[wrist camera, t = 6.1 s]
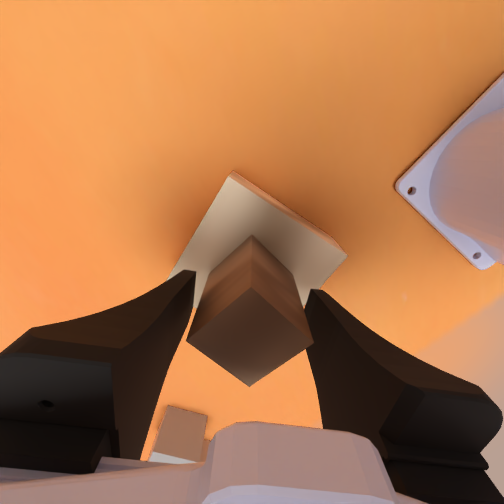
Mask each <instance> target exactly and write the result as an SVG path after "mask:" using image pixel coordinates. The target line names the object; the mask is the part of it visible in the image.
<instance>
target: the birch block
mask: <svg viewBox="0 0 504 504" xmlns="http://www.w3.org/2000/svg"><path fill="white" fill-rule="evenodd" d="M251 234H252V235H253V236H254V237H255V238H256V239H257V240H258V241H259V242H260V243H261V244H262V245H263V246H264V247H265V248H267V249H268V250H269V251H270V252H271V253H272V254H273V255H274V256H275V257H276V258H277V259H278V260H279V261H280V262H281V263H282V264H283V265H284V266H285V267H286V268H287V269H288V270H289V271H290V272H291V273H292V274H293V276H294V279H295V283H296V286H297V289H298V292H299V296H300V299H301V302H302V306H304V305H305V304H306V302H307V299H308V296H309V292H310V289H319V288H320V287H321V286H322V285H323V284H324V283H325V281H326V280H327V279H328V278H329V277H330V276H331V275H332V274H333V272H334V271H335V270H336V269H337V268H338V267H339V266H340V265H341V263H342V262H343V261H344V260H345V259H346V258H347V257H348V255H347V254H346V253H345V252H344V250H343V249H342V248H341V247H340V246H339V245H338V243H337V242H336V241H335V240H334V239H333V238H332V237H331V236H329V235H328V234H326V233H325V232H324V231H322V230H321V229H319V228H318V227H316V226H315V225H313V224H312V223H310V222H309V221H307V220H306V219H304V218H303V217H301V216H300V215H298V214H297V213H295V212H294V211H292V210H291V209H289V208H288V207H286V206H285V205H283V204H282V203H280V202H279V201H278V200H276V199H275V198H273V197H272V196H270V195H269V194H267V193H266V192H264V191H263V190H261V189H260V188H258V187H257V186H255V185H254V184H252V183H251V182H249V181H248V180H246V179H245V178H243V177H242V176H240V175H239V174H237V173H236V172H234V171H232V172H231V173H230V175H229V176H228V177H227V179H226V181H225V182H224V184H223V186H222V188H221V189H220V191H219V193H218V194H217V196H216V198H215V199H214V201H213V203H212V204H211V206H210V208H209V209H208V211H207V213H206V215H205V216H204V218H203V220H202V221H201V223H200V225H199V226H198V228H197V230H196V231H195V233H194V235H193V236H192V238H191V240H190V242H189V243H188V245H187V247H186V248H185V250H184V252H183V253H182V255H181V257H180V258H179V260H178V262H177V264H176V265H175V267H174V269H173V270H172V272H171V274H170V275H169V277H168V279H167V280H169V279H170V278H172V277H173V276H175V275H176V274H178V273H179V272H181V271H182V270H184V269H185V270H192V271H196V282H195V293H194V304H193V307H195V308H196V309H197V307H198V304H199V301H200V298H201V296H202V293H203V290H204V287H205V284H206V281H207V278H208V275H209V273H210V272H211V271H212V270H213V269H214V268H215V267H216V266H217V265H219V264H220V263H221V262H222V261H223V260H224V259H225V258H226V257H227V256H228V255H230V254H231V253H232V252H233V251H234V250H235V249H236V248H237V247H238V246H239V245H240V244H242V243H243V242H244V241H245V240H246V239H247V238H248V237H249V236H250V235H251ZM167 280H166V281H167Z"/></svg>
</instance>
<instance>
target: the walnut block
mask: <svg viewBox="0 0 504 504" xmlns="http://www.w3.org/2000/svg"><path fill="white" fill-rule="evenodd" d="M186 341H187V342H188V343H189V344H191V345H192V346H194V347H195V348H196V349H198V350H199V351H200V352H202V353H203V354H205V355H206V356H207V357H209V358H210V359H212V360H213V361H214V362H216V363H217V364H218V365H220V366H221V367H223V368H224V369H225V370H227V371H228V372H229V373H231V374H232V375H234V376H235V377H236V378H238V379H239V380H241V381H242V382H243V383H245V384H246V385H247V386H249V387H250V386H251V385H253V384H254V383H255V382H257V381H258V380H260V379H261V378H263V377H264V376H266V375H267V374H269V373H270V372H272V371H273V370H275V369H276V368H278V367H279V366H281V365H282V364H284V363H285V362H287V361H288V360H290V359H291V358H293V357H294V356H296V355H297V354H299V353H300V352H301V351H303V350H304V349H306V348H307V347H309V346H310V345H312V344H313V343H314V341H313V338H312V335H311V332H310V328H309V325H308V322H307V319H306V315H305V312H304V309H303V306H302V302H301V299H300V296H299V292H298V289H297V286H296V283H295V279H294V276H293V274H292V273H291V272H290V271H289V270H288V269H287V268H286V267H285V266H284V265H283V264H282V263H281V262H280V261H279V260H278V259H277V258H276V257H275V256H274V255H273V254H272V253H271V252H270V251H269V250H268V249H267V248H265V247H264V246H263V245H262V244H261V243H260V242H259V241H258V240H257V239H256V238H255V237H254V236H253V235H252V234H251V235H250V236H249V237H248V238H247V239H246V240H245V241H244V242H243V243H242V244H240V245H239V246H238V247H237V248H236V249H235V250H234V251H233V252H232V253H231V254H230V255H228V256H227V257H226V258H225V259H224V260H223V261H222V262H221V263H220V264H219V265H217V266H216V267H215V268H214V269H213V270H212V271H211V272H210V273H209V275H208V278H207V281H206V284H205V287H204V290H203V293H202V296H201V298H200V301H199V304H198V307H197V310H196V313H195V316H194V319H193V322H192V325H191V327H190V330H189V333H188V336H187V339H186Z"/></svg>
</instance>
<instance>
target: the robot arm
mask: <svg viewBox="0 0 504 504" xmlns="http://www.w3.org/2000/svg"><path fill="white" fill-rule="evenodd" d="M410 187H412V188H413V189H412V192H411V193H410V194H408V193H407V192H408V189H409V188H410ZM395 189H396V191H397V192H398V193H399V194H400V195H401V196H402V197H403V198H404V199H405V200H406V201H407V202H408V203H409V204H410V205H411V206H412V207H414V208H415V209H416V210H417V211H418V212H419V213H420V214H421V215H422V216H423V217H424V218H425V219H426V220H427V221H428V222H429V223H430V224H431V225H432V226H433V227H434V228H435V229H436V230H437V231H438V232H439V233H440V234H441V235H442V236H443V237H444V238H445V239H446V240H448V241H449V242H450V243H451V244H452V245H453V246H454V247H455V248H456V249H457V250H458V251H459V252H460V253H461V254H462V255H463V256H464V257H465V258H466V259H467V260H468V261H469V262H470V263H471V264H472V265H473V266H474V267H476V268H478V269H480V270H485V269H487V268H489V267H490V266H492V265H493V264H494V263H495V262H498V263H501V264H503V265H504V73H503V74H502V75H501V76H500V77H499V78H498V79H497V80H496V81H495V82H494V83H493V84H492V85H491V86H490V87H489V88H488V89H487V90H486V91H485V92H484V93H483V94H482V95H481V96H480V97H479V98H478V99H477V100H476V102H475V103H474V104H473V105H472V106H471V107H470V108H469V109H468V110H467V111H466V112H465V113H464V114H463V115H462V116H461V117H460V118H459V119H458V120H457V121H456V122H455V123H454V124H453V125H452V126H451V127H450V128H449V129H448V130H447V131H446V132H445V133H444V134H443V135H442V136H441V137H440V138H439V139H438V140H437V141H436V142H435V143H434V144H433V145H432V146H431V147H430V148H429V149H428V150H427V151H426V152H425V153H424V154H423V155H422V156H421V157H420V158H419V159H418V160H417V161H416V162H415V163H414V164H413V165H412V166H411V167H410V169H409V170H408V171H407V172H406V173H405V174H404V175H403V176H402V177H401V178H400V179H399V180H398V181H397V182H396V185H395ZM475 253H476V254H475ZM474 254H475V255H474ZM473 255H474V256H473ZM195 282H196V271H192V270H185V269H184V270H182V271H181V272H179V273H178V274H176V275H175V276H173V277H172V278H170V279H169V280H167V281H166V282H164V283H163V284H161V285H159V286H158V287H156V288H154V289H152V290H151V291H149V292H147V293H145V294H144V295H142V296H140V297H137V298H135V299H133V300H131V301H129V302H126V303H124V304H121V305H119V306H116V307H113V308H110V309H107V310H105V311H102V312H99V313H95V314H92V315H89V316H85V317H81V318H77V319H73V320H69V321H65V322H59V323H54V324H49V325H44V326H39V327H33V328H31V329H29V330H28V331H27V332H25V333H24V334H23V335H22V336H21V337H19V338H18V339H17V340H16V341H14V342H13V343H12V344H11V345H10V346H8V347H7V348H6V349H5V350H3V351H2V352H1V353H0V504H504V497H503V496H502V495H501V493H500V492H499V491H498V489H497V488H496V487H495V485H494V484H493V482H492V481H491V480H490V478H489V477H488V475H487V474H486V473H485V471H484V470H487V469H488V468H489V466H488V463H487V462H486V460H485V459H484V458H483V456H482V455H481V454H480V452H481V451H482V450H483V449H484V447H486V445H487V444H488V443H489V442H490V441H491V440H492V439H493V438H494V436H495V435H496V434H497V433H498V431H499V429H500V428H501V425H502V421H503V416H502V411H501V410H500V409H499V407H498V406H497V405H496V404H495V403H494V402H493V401H492V400H491V399H490V398H489V397H488V395H487V394H486V393H485V392H484V391H483V390H482V389H481V388H480V387H479V386H477V385H475V384H473V383H470V382H468V381H465V380H463V379H461V378H458V377H456V376H454V375H451V374H449V373H447V372H444V371H442V370H440V369H438V368H436V367H434V366H432V365H430V364H428V363H426V362H423V361H422V360H420V359H418V358H416V357H414V356H412V355H410V354H409V353H407V352H405V351H403V350H402V349H400V348H398V347H396V346H395V345H393V344H392V343H390V342H388V341H387V340H385V339H384V338H382V337H381V336H379V335H378V334H376V333H375V332H373V331H372V330H371V329H369V328H368V327H367V326H365V325H364V324H363V323H361V322H360V321H359V320H358V319H356V318H355V317H354V316H353V315H352V314H350V313H349V312H348V311H347V310H346V309H344V308H343V307H342V306H341V305H340V304H339V303H338V302H336V301H335V300H334V299H333V298H332V297H331V296H330V295H328V294H327V293H326V292H324V291H323V290H318V289H310V292H309V296H308V299H307V302H306V305H305V309H304V312H305V315H306V319H307V322H308V325H309V328H310V332H311V335H312V338H313V341H314V343H313V344H312V345H310V346H309V347H307V348H306V352H307V355H308V359H309V362H310V366H311V369H312V373H313V376H314V380H315V384H316V388H317V394H318V399H319V405H320V411H321V418H322V424H323V429H320V428H311V427H302V426H293V425H284V424H275V423H267V422H258V421H253V422H236V423H234V424H232V425H230V426H228V427H225V428H223V429H221V430H219V431H218V432H217V433H216V434H215V436H214V437H213V439H212V440H211V442H210V444H209V445H208V451H207V458H206V461H205V462H197V463H187V464H171V463H161V462H151V461H141V460H140V457H141V454H142V451H143V447H144V444H145V440H146V437H147V434H148V431H149V427H150V424H151V421H152V417H153V414H154V411H155V408H156V405H157V401H158V398H159V395H160V392H161V389H162V386H163V383H164V380H165V377H166V374H167V371H168V368H169V366H170V363H171V361H172V359H173V356H174V354H175V352H176V350H177V347H178V345H179V343H180V341H181V338H182V336H183V334H184V332H185V329H186V327H187V325H188V322H189V319H190V316H191V312H192V309H193V304H194V293H195Z"/></svg>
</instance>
